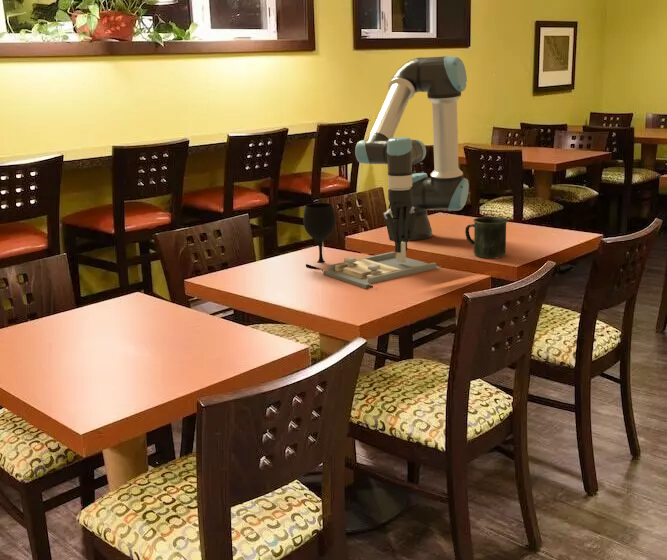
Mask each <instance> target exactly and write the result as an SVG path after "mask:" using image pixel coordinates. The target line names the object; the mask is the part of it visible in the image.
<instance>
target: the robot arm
mask: <svg viewBox="0 0 667 560" xmlns="http://www.w3.org/2000/svg"><path fill="white" fill-rule="evenodd" d="M467 78H468V77H467V70H466V67H465V63H464V62H463V60H462V59H461V58H460V57H458V56H451V55H450V56H449V55H446V56H444V55H443V56H430V57H429V56H428V57H427V56H426V57H416V58H413V59H410V60H408V61H407V62H405V63H404V64H403V65H401V67H399V68H398V69H397V70H396V72H395V73H394V74H393V75H392V76H391V79H390V81H389V82H388V86H387V89H388V92H387V94H386V96H385V98H384V102H383V104H382V106H381V108H380V110H379V113H378V114H377V117H376V120H375V122H374V124H373V125H372V128H371V131H370V133H369V135H368V137H367V139H362V140H359V141H357V143H356V145H355V150H354V153H355V158H356V160H357V162H358V163H359V164H365V165H366V164H367V165H387V187H388V188H389V189H388V190H387V196H388V197H387V200H388V202H389V205H388V207H387V208H388V210H386V211H384V212H382V217H383V218H384V221H385V225H386V229H387V234H388V238H389V241H391V242H394V249H395V250H394V252H395V253H396V255H397V262H401V263H404V262H406V258H407V256H406V253H407V251H408V243H409V242H410V241H420V240H425V239H430V238H431V237H433V229H432V226H431V223H430V219H429V217H428V210H435V211H448V212H452V211H461V210H462V209H463V208H464V206H465V205H466V203H467V200H468V195H469V190H470V188H469V187H470V185H469V184H470V183H469V180H468V178H466V177H464V172H463V171H462V170H461V169H460V168H459V138H458V137H459V136H458V134H459V133H458V131H459V130H458V100H459V99H460V98H461V97H462V92H464V91H465V90H466V89H467V82H468V81H467ZM420 92H421V93H426V94H427V95H426V96H427V99H428V100H429V101H430V102H431V107H432V109H431V112H432V133H433V134H432V135H433V137H432V138H433V140H432V141H433V164H434V165H433V166H434V168H433V169H434V170H432V172H430V174H429V175H430V177H428V173H426V172H417V173H413V166H415V165H417V164H419V163H421V162H422V161H423V160H424V159H425V158H426V155H427V149H426V148H427V147H426V146H425V144H424V143H423V142H422V141H421V140H419V139H411V138H410V137H406V136H403V137H401V136H400V137H394V136H395V133H396V131H397V129H398V126H399V125H400V121H401V119H402V117H403V116H404V115H403V114H404V113H405V110H406V109H407V108H406V107H407V106H408V103H409V101H410V100H411V99H413V98H414V96H415V95H416V93H420Z"/></svg>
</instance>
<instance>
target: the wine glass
mask: <svg viewBox="0 0 667 560" xmlns="http://www.w3.org/2000/svg"><path fill="white" fill-rule="evenodd" d="M302 219H303V227H304V229H305V231H306V233H307V235H309V236H310V237H311V238H312V239H313V240H315V241H316V242H317V244H318V252H319V253H318V255H319V256H318V257H319V258H318V261H316V263H318V264H325V263H326V261H325V260H324V257H323V243H324V241H325V240H327V238H329V236H331V234H332V233H333V231H334V229H335V226H336V213H335V209H334V206H333V204H332V203H329V202H317V203H316V202H314V203H308V204H306V205H305V206H304V209H303V217H302ZM305 268H307V269H311V270H321V268H320V267H318V266H313V265H311V264H309V263H306V264H305Z"/></svg>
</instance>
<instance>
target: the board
mask: <svg viewBox="0 0 667 560" xmlns="http://www.w3.org/2000/svg"><path fill="white" fill-rule="evenodd" d="M362 259H367V260H371V261H374V262H378V263H381V264H385V265H388V266H391V267H395V268H398V269H401V270H399V271H394V272H390V273H386V274H381V275H377V276H372V277H368V281H367V277H366V278H362V279H360V278H357V277H354V276H351V275H348V274H345V273H343V270H341V271H336V270H335V265H339V264H343V263H347V267H350V266H354V262H356V261H358V260H362ZM328 267H329V269H326V270H322V273H323V275H324V276H326V277H328V278H329V277H330V278H332V277H333V279H335V278H336V279H335V280H338V279H339V280H338V281H341V280H342V281H341V282H344V281H345V282H344V283H347V282H348V283H347V284H350V283H351V284H350V285H353V284H354V286H356V285H357V286H356V287H359V286H360V287H359V288H362V287H363V288H362V289H364V288H368V289H370V288H369V287H372V288H374V287H373V286H374V285H373V284H378V283H381V282H385V281H390V280H393V279H398V278H402V277H407V276H412V275H415V274H420V273H423V272H427V271H432V270H437V269H441V268H442V266H439V265H437V262H429V263H428V262H424V261H421V260H417V259H413V258H409V257H406V262H404V263H401V262H397V254H396V252H395V251H389V252H385V253H380V254H376V255H371V256H367V257H362V258H356V257H354V256H353V257H352V256H351V257H350V256H349V257H345V258H344V259H343V261H342V262H337V263H333V264H329V265H328ZM368 269H369V270H371V274H376V273H377V270H378V269H380V265H378V264H371V265H368Z"/></svg>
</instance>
